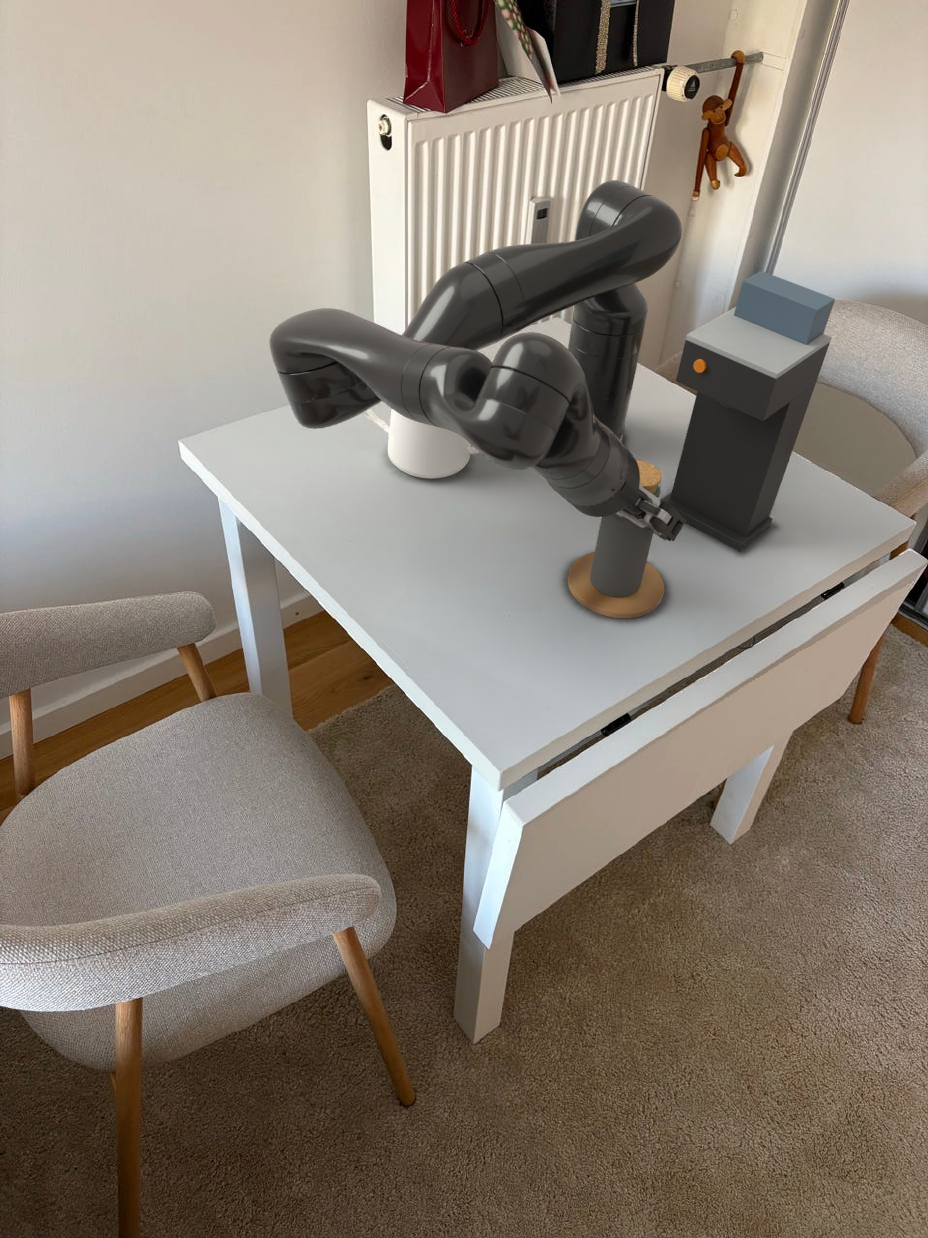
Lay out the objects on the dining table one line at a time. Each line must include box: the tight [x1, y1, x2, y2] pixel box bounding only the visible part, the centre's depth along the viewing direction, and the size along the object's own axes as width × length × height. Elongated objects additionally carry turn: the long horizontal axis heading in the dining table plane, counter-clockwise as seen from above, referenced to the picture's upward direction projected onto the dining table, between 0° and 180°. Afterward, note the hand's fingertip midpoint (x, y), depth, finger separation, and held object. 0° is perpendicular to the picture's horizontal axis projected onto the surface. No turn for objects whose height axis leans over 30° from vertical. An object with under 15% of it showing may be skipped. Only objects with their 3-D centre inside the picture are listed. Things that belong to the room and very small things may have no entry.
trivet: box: [567, 551, 665, 619], centre depth 113 cm, size 11×11×1 cm
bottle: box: [590, 460, 663, 597], centre depth 108 cm, size 6×6×15 cm
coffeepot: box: [361, 408, 481, 479], centre depth 124 cm, size 11×25×19 cm, turn 71°
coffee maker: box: [660, 270, 836, 552], centre depth 113 cm, size 12×12×30 cm
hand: (636, 513), depth 107 cm, fingers open, 8 cm apart
